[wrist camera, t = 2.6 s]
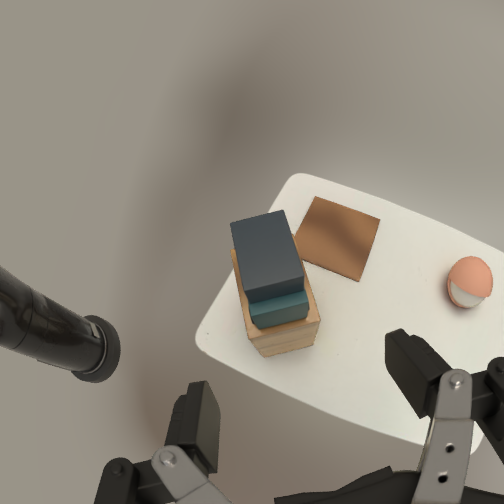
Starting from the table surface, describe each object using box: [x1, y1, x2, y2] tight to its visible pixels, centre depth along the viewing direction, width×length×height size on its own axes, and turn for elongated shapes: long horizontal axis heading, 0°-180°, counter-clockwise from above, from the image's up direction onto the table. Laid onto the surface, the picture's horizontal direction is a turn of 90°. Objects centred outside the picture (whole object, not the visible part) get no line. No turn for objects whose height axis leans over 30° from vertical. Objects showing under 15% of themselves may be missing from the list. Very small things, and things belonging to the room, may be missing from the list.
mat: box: [294, 196, 380, 282], centre depth 44 cm, size 12×12×1 cm
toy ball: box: [447, 256, 493, 308], centre depth 33 cm, size 8×8×8 cm
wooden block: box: [230, 234, 321, 357], centre depth 34 cm, size 10×7×13 cm
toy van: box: [230, 210, 310, 329], centre depth 25 cm, size 9×5×8 cm, turn 11°
